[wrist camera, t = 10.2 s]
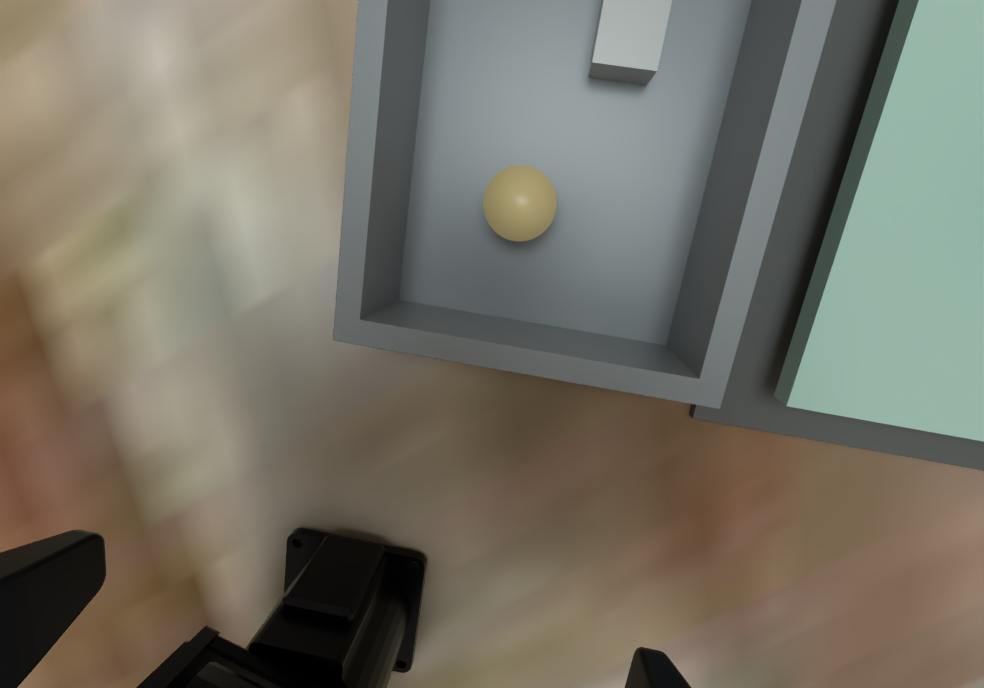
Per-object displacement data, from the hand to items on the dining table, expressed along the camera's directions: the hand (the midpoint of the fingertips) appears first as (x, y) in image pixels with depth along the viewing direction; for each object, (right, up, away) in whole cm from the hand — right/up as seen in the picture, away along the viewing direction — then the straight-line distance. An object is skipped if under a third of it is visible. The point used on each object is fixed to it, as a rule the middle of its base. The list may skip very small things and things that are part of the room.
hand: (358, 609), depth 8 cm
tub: (+5, +12, +10) cm, 17 cm away
